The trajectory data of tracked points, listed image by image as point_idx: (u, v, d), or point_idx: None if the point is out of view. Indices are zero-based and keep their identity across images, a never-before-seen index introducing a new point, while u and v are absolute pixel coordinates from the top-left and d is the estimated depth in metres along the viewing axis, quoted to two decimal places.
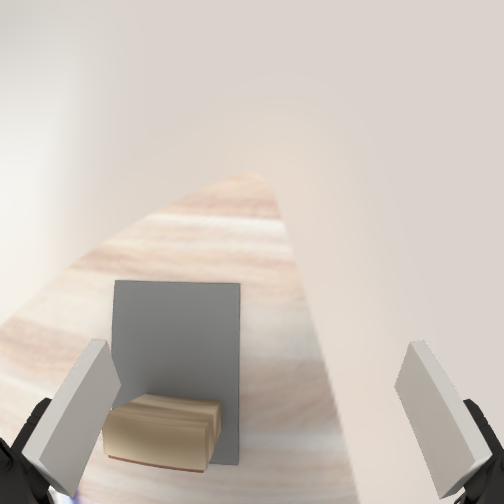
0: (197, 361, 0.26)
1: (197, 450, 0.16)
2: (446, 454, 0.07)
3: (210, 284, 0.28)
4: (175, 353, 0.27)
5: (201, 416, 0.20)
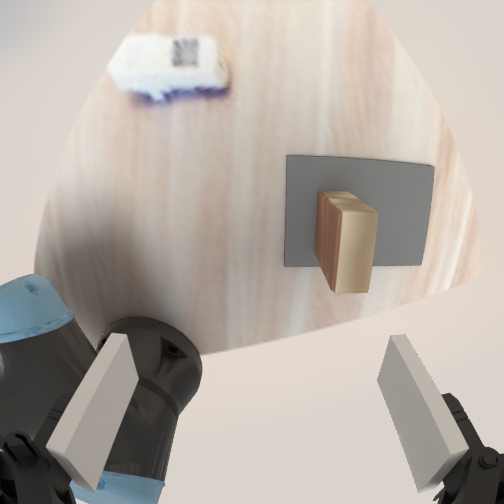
0: None
1: (351, 288, 0.26)
2: (423, 447, 0.08)
3: (424, 245, 0.34)
4: (380, 218, 0.33)
5: None
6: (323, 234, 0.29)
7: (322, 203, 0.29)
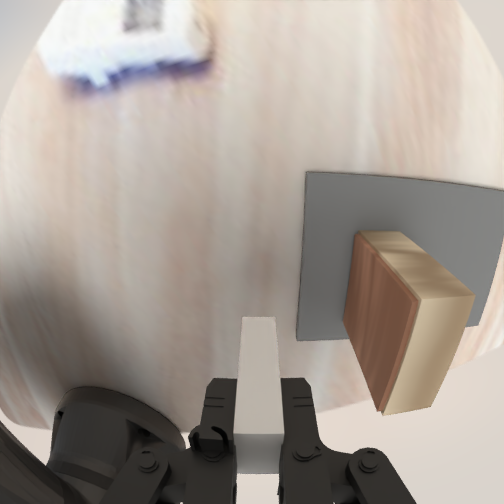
0: None
1: (409, 405, 0.13)
2: None
3: (486, 300, 0.21)
4: None
5: None
6: (365, 309, 0.17)
7: (365, 257, 0.17)
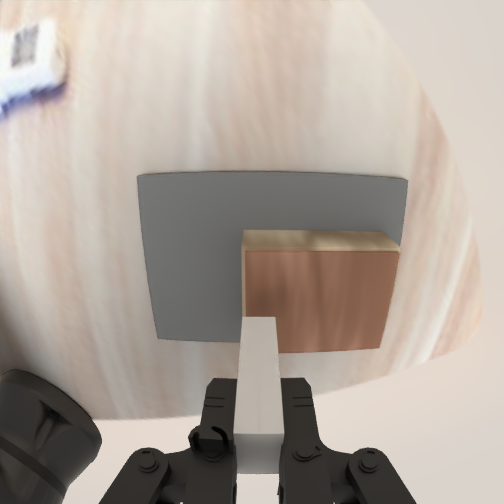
0: None
1: None
2: None
3: None
4: None
5: None
6: (312, 306, 0.18)
7: (293, 262, 0.17)
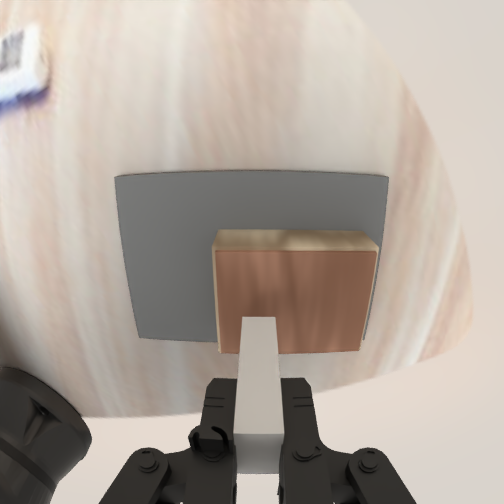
0: None
1: None
2: None
3: (368, 310, 0.21)
4: None
5: None
6: (286, 307, 0.17)
7: (264, 262, 0.16)
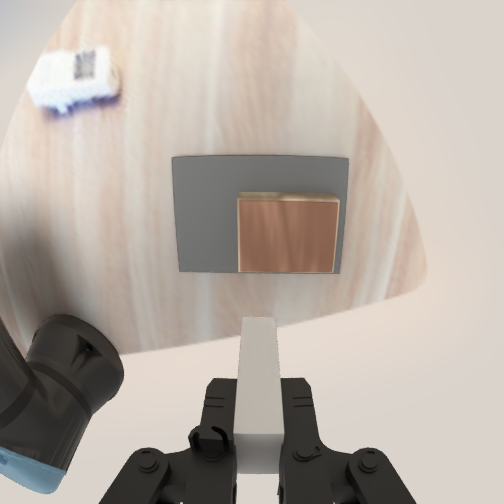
0: None
1: None
2: None
3: (340, 250, 0.32)
4: None
5: None
6: (282, 237, 0.28)
7: (268, 207, 0.27)
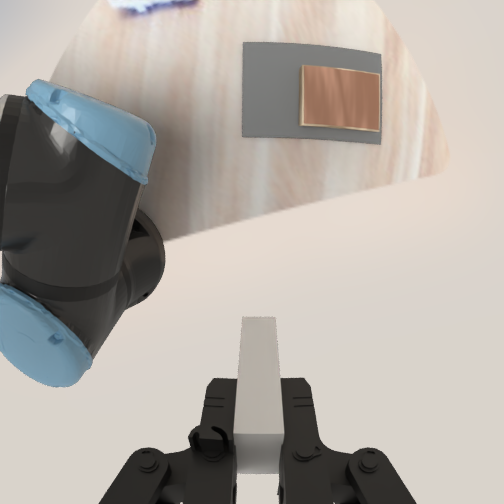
0: None
1: None
2: None
3: (380, 124, 0.34)
4: None
5: None
6: (338, 96, 0.30)
7: (327, 72, 0.29)
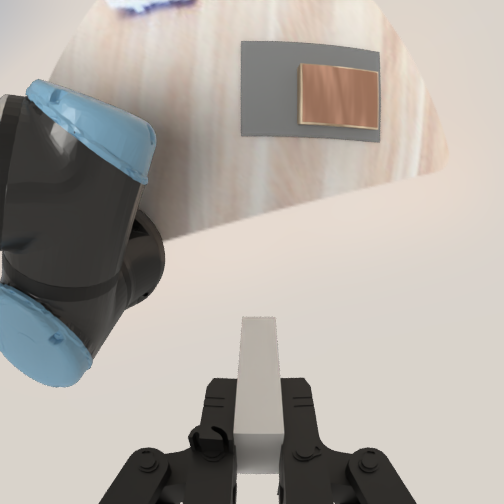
0: None
1: None
2: None
3: (379, 122, 0.34)
4: None
5: None
6: (337, 94, 0.30)
7: (325, 70, 0.29)
